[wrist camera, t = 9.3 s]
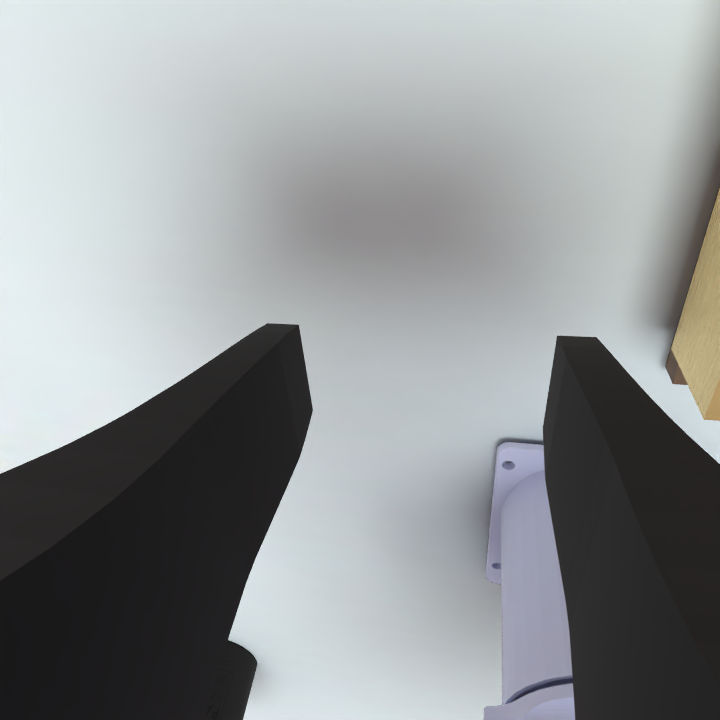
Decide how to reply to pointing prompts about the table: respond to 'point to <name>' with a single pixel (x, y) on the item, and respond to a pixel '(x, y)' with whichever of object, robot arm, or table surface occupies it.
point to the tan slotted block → (703, 325)
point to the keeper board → (672, 363)
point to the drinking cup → (232, 684)
